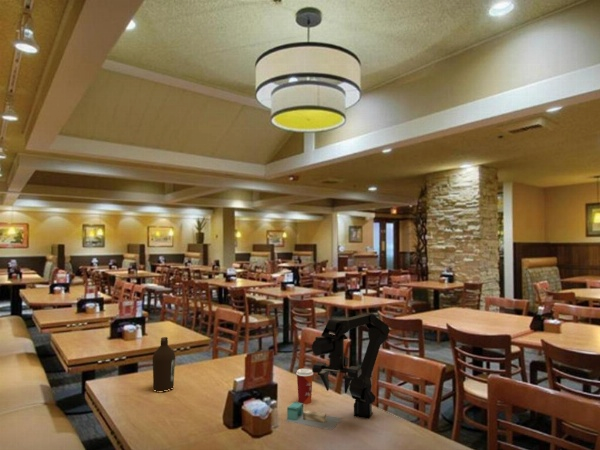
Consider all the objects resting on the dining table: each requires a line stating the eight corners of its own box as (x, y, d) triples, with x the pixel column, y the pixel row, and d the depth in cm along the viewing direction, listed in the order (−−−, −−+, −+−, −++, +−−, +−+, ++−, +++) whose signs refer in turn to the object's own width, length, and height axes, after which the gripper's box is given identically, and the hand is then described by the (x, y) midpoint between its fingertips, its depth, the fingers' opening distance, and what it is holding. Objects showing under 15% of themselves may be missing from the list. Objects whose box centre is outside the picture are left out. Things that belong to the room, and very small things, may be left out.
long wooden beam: (326, 420, 167) (326, 413, 167) (324, 422, 165) (324, 416, 165) (305, 416, 171) (305, 410, 171) (303, 419, 168) (303, 412, 169)
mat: (342, 419, 170) (342, 418, 170) (332, 430, 159) (332, 429, 159) (296, 411, 178) (296, 410, 178) (284, 422, 167) (284, 421, 167)
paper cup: (311, 406, 183) (311, 373, 184) (294, 404, 185) (294, 372, 186) (314, 399, 191) (314, 368, 192) (298, 398, 193) (298, 367, 193)
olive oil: (150, 394, 199) (151, 340, 200) (153, 386, 209) (154, 336, 211) (173, 392, 201) (174, 339, 203) (175, 385, 212) (176, 335, 213)
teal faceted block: (303, 414, 174) (303, 403, 174) (296, 420, 167) (296, 409, 168) (294, 412, 175) (294, 401, 175) (287, 418, 169) (287, 407, 169)
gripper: (365, 349, 169) (365, 388, 168) (321, 345, 177) (322, 382, 176) (357, 355, 159) (357, 397, 158) (311, 350, 167) (311, 391, 166)
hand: (336, 391), depth 165 cm, fingers open, 7 cm apart
